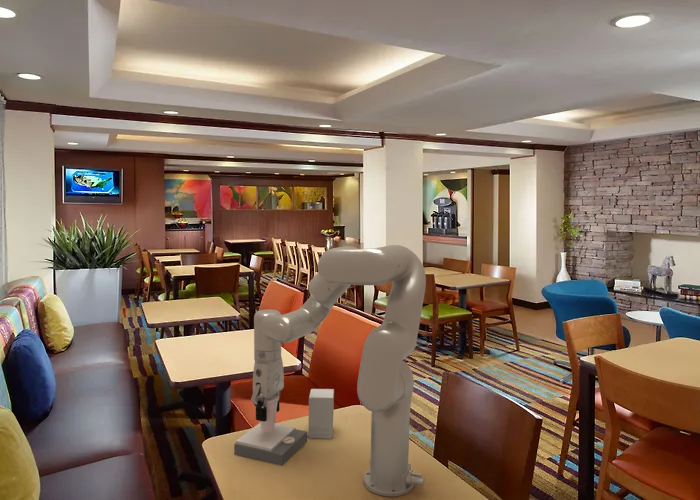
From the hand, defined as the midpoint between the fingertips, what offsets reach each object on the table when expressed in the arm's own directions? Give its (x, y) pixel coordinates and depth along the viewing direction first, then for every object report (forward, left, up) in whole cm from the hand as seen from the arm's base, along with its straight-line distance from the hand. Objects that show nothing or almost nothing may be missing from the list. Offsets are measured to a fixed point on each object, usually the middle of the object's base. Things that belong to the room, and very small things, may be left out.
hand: (267, 415), depth 144 cm
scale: (-1, 0, -9) cm, 10 cm away
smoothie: (0, 0, -4) cm, 4 cm away
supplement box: (-10, -14, -10) cm, 20 cm away
